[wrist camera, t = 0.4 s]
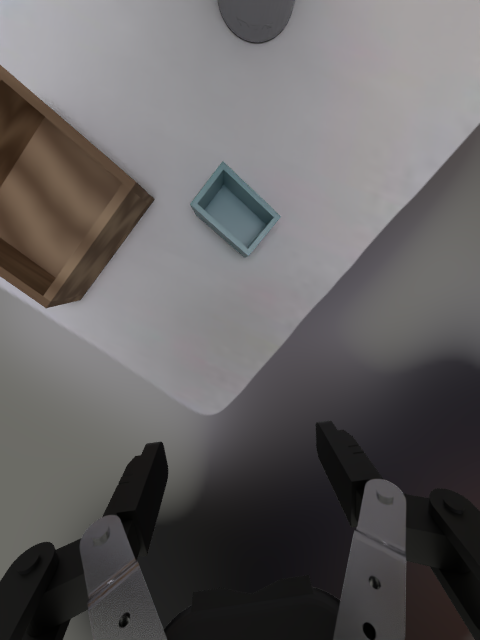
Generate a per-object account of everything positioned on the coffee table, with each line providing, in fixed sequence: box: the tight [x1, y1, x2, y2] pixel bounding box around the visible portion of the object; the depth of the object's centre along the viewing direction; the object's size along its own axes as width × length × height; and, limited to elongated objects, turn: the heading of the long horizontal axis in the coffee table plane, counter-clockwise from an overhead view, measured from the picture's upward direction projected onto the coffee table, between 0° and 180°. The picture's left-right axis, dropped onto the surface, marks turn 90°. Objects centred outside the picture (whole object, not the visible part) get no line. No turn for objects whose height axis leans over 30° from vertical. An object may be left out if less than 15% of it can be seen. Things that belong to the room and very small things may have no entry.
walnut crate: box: [0, 65, 154, 308], centre depth 30 cm, size 18×16×7 cm
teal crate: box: [190, 162, 281, 257], centre depth 32 cm, size 6×9×6 cm, turn 50°
